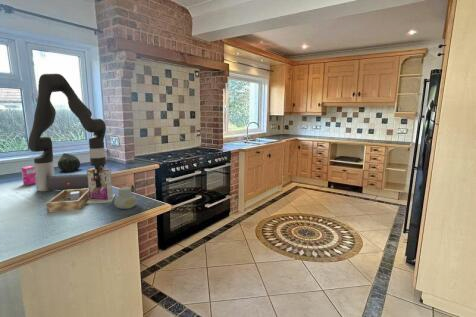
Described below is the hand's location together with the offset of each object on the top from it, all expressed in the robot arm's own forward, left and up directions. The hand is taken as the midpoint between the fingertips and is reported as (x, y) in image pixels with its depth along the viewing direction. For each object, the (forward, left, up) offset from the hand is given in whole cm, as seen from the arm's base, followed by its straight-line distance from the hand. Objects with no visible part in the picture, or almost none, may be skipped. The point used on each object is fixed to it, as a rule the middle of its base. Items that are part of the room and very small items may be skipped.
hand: (100, 185), depth 144 cm
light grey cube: (-14, +3, -8) cm, 17 cm away
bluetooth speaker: (-22, +22, -8) cm, 32 cm away
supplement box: (-53, +44, -8) cm, 69 cm away
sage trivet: (0, 0, -8) cm, 8 cm away
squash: (-42, +82, -8) cm, 93 cm away
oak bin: (-14, -3, -8) cm, 16 cm away
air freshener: (+15, -16, -8) cm, 23 cm away
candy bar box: (0, 0, -7) cm, 7 cm away
